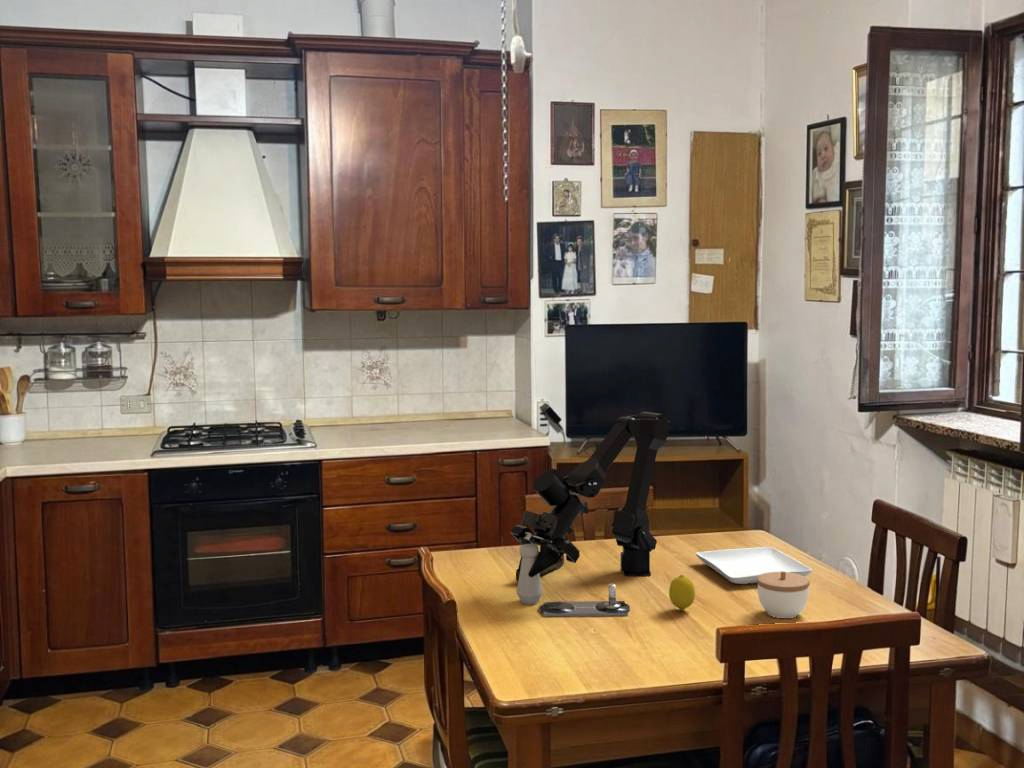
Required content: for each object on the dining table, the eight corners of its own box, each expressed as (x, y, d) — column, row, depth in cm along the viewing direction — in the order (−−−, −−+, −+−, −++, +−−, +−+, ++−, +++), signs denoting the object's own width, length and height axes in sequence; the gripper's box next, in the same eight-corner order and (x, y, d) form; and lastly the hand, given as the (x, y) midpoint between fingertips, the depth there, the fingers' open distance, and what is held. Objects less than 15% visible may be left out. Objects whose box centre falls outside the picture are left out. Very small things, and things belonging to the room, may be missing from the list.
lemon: (696, 607, 226) (696, 572, 225) (692, 615, 221) (692, 579, 220) (671, 605, 228) (671, 570, 227) (666, 613, 222) (666, 577, 222)
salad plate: (814, 582, 243) (815, 568, 243) (731, 591, 238) (731, 576, 237) (771, 558, 263) (771, 545, 263) (693, 565, 258) (693, 552, 258)
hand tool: (528, 586, 243) (528, 567, 243) (515, 583, 246) (514, 564, 245) (572, 567, 258) (572, 548, 258) (559, 564, 261) (559, 546, 260)
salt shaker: (534, 607, 228) (533, 550, 226) (511, 603, 231) (510, 546, 229) (547, 599, 233) (546, 543, 231) (525, 595, 236) (524, 540, 234)
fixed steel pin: (619, 604, 227) (619, 582, 226) (621, 609, 224) (621, 587, 223) (603, 604, 227) (603, 582, 227) (604, 609, 224) (604, 587, 223)
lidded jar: (819, 617, 218) (820, 574, 217) (779, 626, 214) (780, 582, 213) (785, 603, 228) (785, 561, 227) (746, 611, 223) (746, 568, 222)
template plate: (628, 603, 229) (627, 600, 229) (631, 615, 221) (631, 613, 221) (539, 604, 230) (539, 601, 230) (540, 616, 222) (539, 614, 222)
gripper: (516, 490, 239) (478, 545, 233) (569, 504, 224) (530, 563, 219) (542, 517, 244) (506, 572, 239) (596, 533, 230) (559, 591, 224)
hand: (524, 574), depth 230 cm, fingers closed on salt shaker, 3 cm apart
